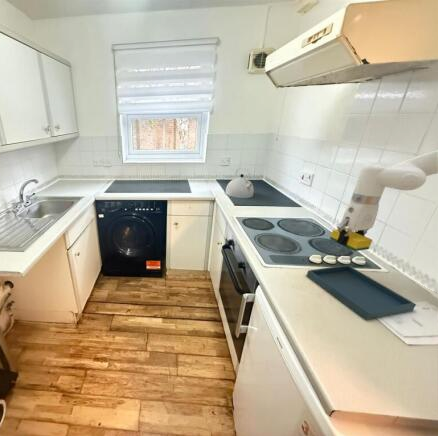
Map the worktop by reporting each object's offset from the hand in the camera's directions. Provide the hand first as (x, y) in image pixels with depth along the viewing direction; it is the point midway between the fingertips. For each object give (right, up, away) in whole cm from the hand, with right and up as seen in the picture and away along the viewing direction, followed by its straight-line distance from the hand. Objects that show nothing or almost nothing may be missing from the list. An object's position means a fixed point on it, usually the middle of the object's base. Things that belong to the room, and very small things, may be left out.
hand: (349, 242), depth 91 cm
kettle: (+1, +30, +111) cm, 116 cm away
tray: (0, -18, -3) cm, 18 cm away
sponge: (0, 0, 0) cm, 1 cm away
